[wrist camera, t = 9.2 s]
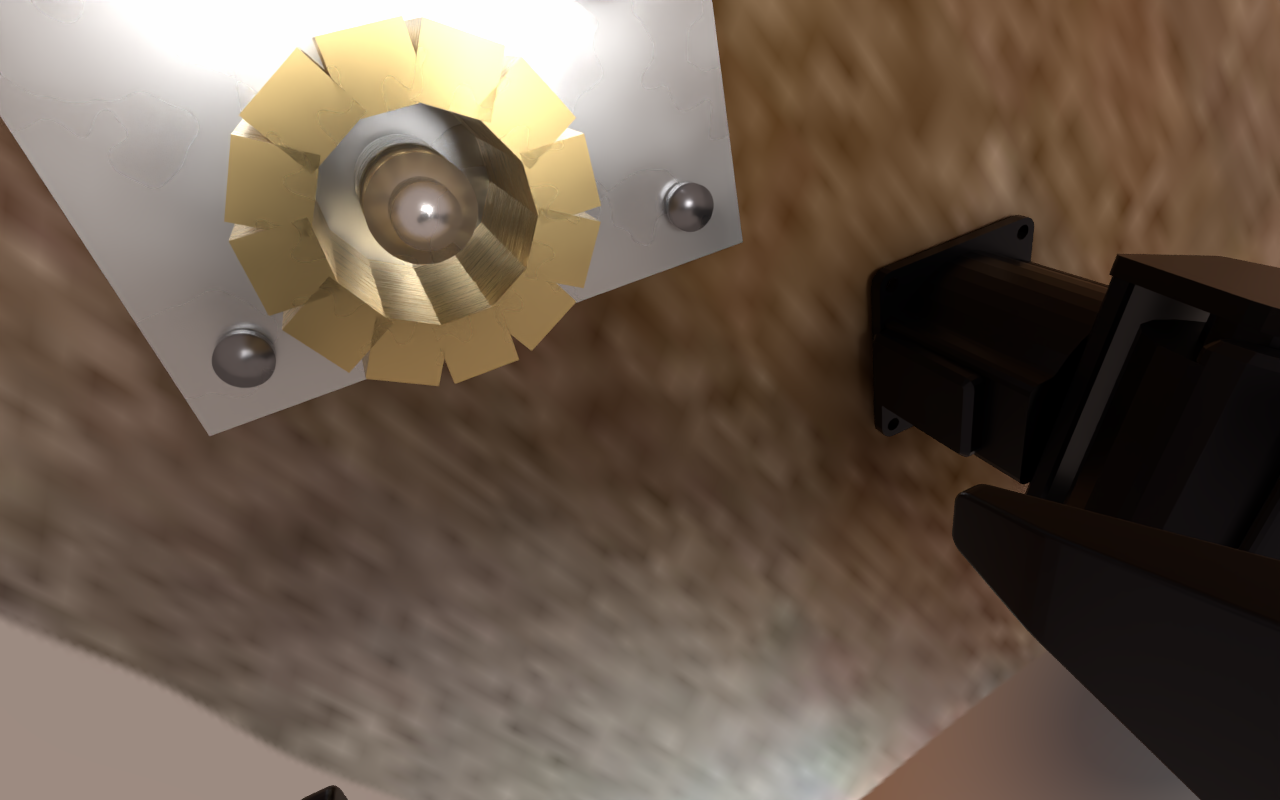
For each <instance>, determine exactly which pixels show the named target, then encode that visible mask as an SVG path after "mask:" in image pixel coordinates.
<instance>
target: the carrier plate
mask: <svg viewBox="0 0 1280 800" xmlns="http://www.w3.org/2000/svg"><path fill="white" fill-rule="evenodd" d="M397 16H403V19H404V20H409V19H414V18H418V17H425V18H428V19H431V20H434V21H437V22H440V23H443V24H446V25H449V26H451V27H454V28H457V29H460V30H463V31H466V32H469V33H472V34H475V35H477V36H480V37H483V38H486V39H489V40H492V41H495V42H498V43H501V44H503V45H506V48H505V53H504V55H509V56H522V57H523V58H524V59H525V60H526V61H527V63H528V64H529V65H530V66H531V67H532V68H533V69H534V70H535V72H536V73H537V74H538V75H539V76H540V77H541V78H542V80H543V81H544V82H545V83H546V84H547V85H548V86H549V88H550V89H551V90H552V91H553V92H554V93H555V94H556V95H557V97H558V98H559V99H560V100H561V101H562V102H563V103H564V105H565V106H566V107H567V108H568V109H569V110H570V111H571V113H572V114H573V115H574V116H575V117H576V118H575V120H574V121H573V122H572V123H571V124H570V125H569V126H568V127H567V128H569V129H572V130H575V131H578V132H581V133H584V135H585V139H586V143H587V148H588V152H589V156H590V160H591V165H592V169H593V173H594V177H595V182H596V186H597V190H598V195H599V199H600V203H601V206H599V207H596V208H593V209H590V210H587V211H584V212H585V213H587V214H589V215H590V216H592V217H594V218H595V219H597V220H599V221H600V222H601V223H600V227H599V231H598V235H597V239H596V243H595V246H594V250H593V254H592V258H591V262H590V266H589V270H588V273H587V277H586V281H585V285H584V288H580V287H574V286H569V285H563V284H558V283H557V284H558V285H559V286H560V287H561V288H563V289H564V290H565V291H566V292H567V293H568V294H569V295H570V296H571V297H572V298H573V299H574V300H575V301H576V303H577V302H580V301H582V300H585V299H588V298H591V297H593V296H596V295H599V294H602V293H604V292H607V291H610V290H613V289H615V288H618V287H621V286H624V285H626V284H629V283H632V282H635V281H637V280H640V279H643V278H645V277H648V276H651V275H654V274H656V273H659V272H662V271H665V270H667V269H670V268H673V267H676V266H678V265H681V264H684V263H687V262H689V261H692V260H695V259H698V258H700V257H703V256H706V255H709V254H711V253H714V252H717V251H720V250H722V249H725V248H728V247H731V246H733V245H736V244H739V243H742V242H743V241H742V233H741V225H740V217H739V210H738V202H737V194H736V186H735V178H734V170H733V162H732V154H731V147H730V139H729V131H728V123H727V115H726V107H725V99H724V91H723V84H722V76H721V68H720V60H719V52H718V44H717V36H716V28H715V21H714V13H713V5H712V0H0V116H1V118H2V119H3V121H4V122H5V124H6V125H7V127H8V128H9V130H10V131H11V133H12V134H13V136H14V138H15V139H16V141H17V142H18V144H19V145H20V147H21V148H22V150H23V151H24V153H25V154H26V156H27V157H28V159H29V161H30V162H31V164H32V165H33V167H34V168H35V170H36V171H37V173H38V174H39V176H40V177H41V179H42V180H43V182H44V183H45V185H46V187H47V188H48V190H49V191H50V193H51V194H52V196H53V197H54V199H55V200H56V202H57V203H58V205H59V206H60V208H61V210H62V211H63V213H64V214H65V216H66V217H67V219H68V220H69V222H70V223H71V225H72V226H73V228H74V229H75V231H76V232H77V234H78V236H79V237H80V239H81V240H82V242H83V243H84V245H85V246H86V248H87V249H88V251H89V252H90V254H91V255H92V257H93V259H94V260H95V262H96V263H97V265H98V266H99V268H100V269H101V271H102V272H103V274H104V275H105V277H106V278H107V280H108V281H109V283H110V285H111V286H112V288H113V289H114V291H115V292H116V294H117V295H118V297H119V298H120V300H121V301H122V303H123V304H124V306H125V308H126V309H127V311H128V312H129V314H130V315H131V317H132V318H133V320H134V321H135V323H136V324H137V326H138V327H139V329H140V330H141V332H142V334H143V335H144V337H145V338H146V340H147V341H148V343H149V344H150V346H151V347H152V349H153V350H154V352H155V353H156V355H157V356H158V358H159V360H160V361H161V363H162V364H163V366H164V367H165V369H166V370H167V372H168V373H169V375H170V376H171V378H172V379H173V381H174V383H175V384H176V386H177V387H178V389H179V390H180V392H181V393H182V395H183V396H184V398H185V399H186V401H187V402H188V404H189V405H190V407H191V409H192V410H193V412H194V413H195V415H196V416H197V418H198V419H199V421H200V422H201V424H202V425H203V427H204V428H205V430H206V432H207V433H208V435H209V436H212V435H215V434H217V433H220V432H223V431H225V430H228V429H231V428H234V427H236V426H239V425H242V424H245V423H247V422H250V421H253V420H256V419H258V418H261V417H264V416H267V415H269V414H272V413H275V412H278V411H280V410H283V409H286V408H289V407H291V406H294V405H297V404H300V403H302V402H305V401H308V400H311V399H313V398H316V397H319V396H322V395H324V394H327V393H330V392H333V391H335V390H338V389H341V388H344V387H346V386H349V385H352V384H355V383H357V382H360V381H363V380H365V379H366V378H365V372H364V367H363V362H362V359H361V360H360V361H359V363H358V364H357V365H356V366H355V367H354V368H353V369H352V370H351V372H350V373H348V372H347V371H345V370H344V369H342V368H340V367H339V366H337V365H336V364H334V363H333V362H331V361H330V360H328V359H326V358H325V357H323V356H322V355H320V354H319V353H317V352H316V351H314V350H312V349H311V348H309V347H308V346H306V345H305V344H303V343H302V342H300V341H298V340H297V339H295V338H294V337H292V336H291V335H289V334H288V333H286V332H284V331H283V330H282V322H283V312H280V313H277V314H274V315H271V316H269V315H268V314H267V312H266V310H265V308H264V306H263V304H262V302H261V301H260V299H259V297H258V295H257V293H256V291H255V289H254V288H253V286H252V284H251V282H250V280H249V278H248V276H247V275H246V273H245V271H244V269H243V267H242V265H241V264H240V262H239V260H238V258H237V256H236V254H235V252H234V251H233V249H232V247H231V245H230V243H229V238H230V236H231V233H232V230H233V228H234V225H235V224H234V223H228V222H224V217H225V204H226V191H227V178H228V165H229V152H230V139H231V133H232V132H233V131H234V129H235V128H236V127H237V125H238V124H239V123H240V122H241V120H242V119H243V118H241V117H240V116H239V114H240V113H241V112H242V110H243V109H244V108H245V107H246V106H247V105H248V103H249V102H250V101H251V100H252V99H253V98H254V96H255V95H256V94H257V93H258V92H259V91H260V89H261V88H262V87H263V86H264V85H265V84H266V82H267V81H268V80H269V79H270V78H271V77H272V75H273V74H274V73H275V72H276V71H277V70H278V68H279V67H280V66H281V65H282V64H283V63H284V61H285V60H286V59H287V58H288V57H289V56H290V54H291V53H292V52H293V51H294V50H295V49H296V47H297V46H299V47H300V48H301V49H302V50H303V51H304V52H306V53H307V54H308V55H309V56H310V57H311V58H312V59H313V60H314V61H315V62H317V63H318V64H319V65H320V66H321V67H322V68H323V69H324V67H323V65H322V62H321V60H320V57H319V55H318V52H317V50H316V47H315V45H314V42H313V40H312V37H314V36H318V35H322V34H327V33H331V32H335V31H339V30H343V29H347V28H352V27H356V26H360V25H364V24H368V23H372V22H377V21H381V20H385V19H389V18H393V17H397ZM324 70H325V69H324ZM489 181H490V180H489V177H488V174H487V171H486V168H485V165H484V161H483V158H482V155H481V152H480V149H479V146H478V142H477V139H476V137H475V136H474V135H473V134H472V133H471V132H470V131H469V130H468V129H467V128H466V127H465V126H464V125H463V124H462V123H461V122H460V121H459V120H458V119H457V118H456V117H455V116H454V115H453V114H452V113H451V112H450V111H447V110H444V109H440V108H437V107H433V106H430V105H427V104H423V103H418V104H414V105H411V106H407V107H403V108H400V109H396V110H392V111H389V112H385V113H381V114H378V115H374V116H370V117H367V118H363V119H360V120H359V121H358V122H357V123H356V125H355V126H354V127H353V128H352V129H351V130H350V131H349V133H348V134H347V135H346V136H345V137H344V138H343V140H342V141H341V142H340V143H339V144H338V145H337V146H336V148H335V149H334V150H333V151H332V152H331V153H330V155H329V156H328V157H327V158H326V159H325V160H324V161H323V163H322V164H321V165H320V166H319V173H318V181H317V189H316V200H317V202H318V204H319V206H320V209H321V211H322V213H323V215H324V218H325V220H326V222H327V224H328V226H329V229H330V230H331V231H332V232H334V233H335V234H336V235H338V236H339V237H340V238H341V239H343V240H344V241H345V242H347V243H348V244H349V245H351V246H352V247H353V248H355V249H356V250H357V251H358V252H360V253H361V254H362V255H364V256H365V257H366V258H368V259H371V260H377V261H382V262H388V263H393V264H399V265H405V266H410V267H414V266H417V265H420V264H435V263H439V262H442V261H445V260H447V259H449V258H451V257H453V256H455V255H456V254H457V253H459V252H460V251H461V250H462V249H463V248H464V247H465V246H466V244H467V243H468V242H469V240H470V239H471V237H472V235H473V233H474V231H475V229H476V228H477V226H478V225H479V224H480V223H481V220H482V215H483V210H484V205H485V200H486V195H487V190H488V186H489Z"/></svg>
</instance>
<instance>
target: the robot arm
mask: <svg viewBox="0 0 1280 800" xmlns="http://www.w3.org/2000/svg"><path fill="white" fill-rule="evenodd" d="M1033 232H1034V222H1033V220H1032V219H1031V218H1029V217H1025V216H1021V215H1015V216H1012V217H1010V218H1007V219H1004V220H1002V221H999V222H997V223H994V224H992V225H989V226H987V227H984V228H982V229H979V230H977V231H974V232H972V233H969V234H967V235H964V236H962V237H959V238H957V239H954V240H952V241H949V242H947V243H944V244H942V245H939V246H937V247H934V248H932V249H929V250H927V251H924V252H922V253H919V254H917V255H914V256H911V257H909V258H906V259H904V260H901V261H899V262H896V263H894V264H891V265H889V266H886V267H884V268H882V269H881V270H879V271H878V272H877V273H876V275H875V276H874V278H873V280H872V286H871V294H872V333H873V373H874V413H875V427H876V429H877V430H878V431H879V432H881V433H882V434H884V435H885V436H893V435H895V434H897V433H899V432H902V431H904V430H906V429H908V428H910V427H912V426H915V427H916V428H918V429H920V430H921V431H923V432H924V433H926V434H928V435H929V436H931V437H932V438H934V439H936V440H937V441H939V442H940V443H942V444H944V445H945V446H947V447H948V448H950V449H951V450H953V451H955V452H956V453H958V454H960V455H962V456H964V457H968V456H970V455H972V454H974V455H976V456H977V457H979V458H980V459H982V460H984V461H985V462H987V463H989V464H990V465H992V466H993V467H995V468H997V469H998V470H1000V471H1002V472H1003V473H1005V474H1006V475H1008V476H1010V477H1011V478H1013V479H1015V480H1016V481H1018V482H1019V483H1021V484H1027V483H1029V482H1030V483H1029V485H1028V488H1027V490H1026V493H1025V494H1022V493H1018V492H1014V491H1010V490H1006V489H1003V488H999V487H995V486H991V485H986V484H979V485H976V486H973V487H971V488H969V489H967V490H965V491H963V492H961V493H959V494H958V495H957V497H956V499H955V506H954V517H953V529H952V536H953V540H954V543H955V545H956V547H957V548H958V550H959V551H960V552H961V554H962V555H963V556H964V557H965V558H966V559H967V561H968V562H969V563H970V564H971V565H972V566H973V568H974V569H975V570H976V571H977V572H978V574H979V575H980V576H981V577H982V578H983V579H984V581H985V582H986V583H987V584H988V585H989V586H990V588H991V589H992V590H993V591H994V592H995V593H996V595H997V596H998V597H999V598H1000V599H1001V601H1002V602H1003V603H1004V604H1005V605H1006V606H1007V608H1008V609H1009V610H1010V611H1011V612H1012V613H1013V615H1014V616H1015V617H1016V618H1017V619H1018V620H1019V621H1020V623H1021V624H1022V625H1023V626H1024V627H1025V628H1026V629H1027V630H1028V631H1029V632H1030V633H1031V635H1032V636H1033V637H1034V638H1035V639H1036V640H1037V641H1038V642H1039V643H1040V644H1041V645H1042V646H1043V647H1044V648H1045V649H1046V650H1047V651H1048V652H1049V653H1051V654H1052V655H1053V656H1054V657H1055V658H1056V659H1057V660H1058V661H1059V662H1060V663H1061V664H1062V665H1063V666H1064V667H1065V668H1066V669H1067V670H1068V671H1069V672H1070V673H1071V674H1072V675H1073V676H1074V677H1075V678H1076V679H1077V680H1078V681H1079V682H1080V683H1081V684H1082V685H1083V686H1084V687H1085V688H1086V689H1087V690H1088V691H1090V693H1092V694H1093V695H1094V696H1095V697H1096V698H1097V699H1098V700H1099V701H1100V702H1101V703H1102V704H1103V705H1104V706H1105V707H1106V708H1107V709H1108V710H1109V711H1110V712H1111V713H1112V714H1113V715H1114V716H1115V717H1116V718H1117V719H1118V720H1119V721H1120V722H1121V723H1122V724H1123V725H1124V726H1125V727H1126V728H1127V729H1128V730H1130V731H1131V733H1133V734H1134V735H1135V736H1136V737H1137V738H1138V739H1139V740H1140V741H1141V742H1142V743H1143V744H1144V745H1145V746H1146V747H1147V748H1148V749H1149V750H1150V751H1151V752H1152V753H1153V754H1154V755H1155V756H1156V757H1157V758H1158V759H1159V760H1160V761H1161V762H1162V763H1163V764H1164V765H1165V766H1166V767H1167V768H1168V769H1169V770H1170V771H1171V772H1172V773H1173V774H1175V775H1176V776H1177V777H1178V778H1179V779H1180V780H1181V781H1182V782H1183V783H1184V784H1185V785H1186V786H1187V787H1188V788H1189V789H1190V790H1191V791H1192V792H1193V793H1194V794H1195V795H1196V796H1197V797H1198V798H1199V799H1200V800H1280V268H1277V267H1272V266H1267V265H1262V264H1257V263H1252V262H1247V261H1242V260H1237V259H1232V258H1227V257H1221V256H1198V255H1150V254H1117V256H1116V259H1115V261H1114V264H1113V266H1112V269H1111V271H1110V275H1112V276H1113V277H1112V279H1111V281H1110V284H1109V285H1106V284H1102V283H1099V282H1096V281H1092V280H1089V279H1086V278H1082V277H1079V276H1076V275H1073V274H1069V273H1066V272H1063V271H1059V270H1056V269H1053V268H1049V267H1046V266H1043V265H1039V264H1036V263H1033V262H1030V261H1031V252H1032V242H1033ZM889 280H890V283H889V285H888V286H887V287H886V285H887V283H888V281H889ZM302 800H348V799H347V798H346V796H345V795H344V793H343V792H342V790H341V789H340V788H338V787H337V786H334V785H332V786H328V787H326V788H324V789H322V790H320V791H318V792H316V793H313V794H311V795H309V796H307V797H305V798H303V799H302Z"/></svg>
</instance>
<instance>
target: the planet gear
mask: <svg viewBox="0 0 1280 800" xmlns="http://www.w3.org/2000/svg"><path fill="white" fill-rule="evenodd" d="M312 40H313V42H314V45H315V47H316V50H317V52H318V55H319V57H320V60H321V62H322V65H323V67H324V69H325V70H324V69H323V68H322V67H321V66H320V65H319V64H318V63H317V62H315V61H314V60H313V59H312V58H311V57H310V56H309V55H308V54H307V53H306V52H304V51H303V50H302V49H301V48H300V47H299V46H297V47H296V49H295V50H294V51H293V52H292V53H291V54H290V56H289V57H288V58H287V59H286V60H285V61H284V63H283V64H282V65H281V66H280V67H279V68H278V70H277V71H276V72H275V73H274V74H273V75H272V77H271V78H270V79H269V80H268V81H267V82H266V84H265V85H264V86H263V87H262V88H261V89H260V91H259V92H258V93H257V94H256V95H255V96H254V98H253V99H252V100H251V101H250V102H249V103H248V105H247V106H246V107H245V108H244V109H243V110H242V112H241V113H240V114H239V116H240V117H241V118H243V119H242V120H241V122H240V123H239V124H238V125H237V127H236V128H235V129H234V131H233V132H232V133H231V139H230V152H229V165H228V178H227V191H226V204H225V217H224V222H228V223H234V224H235V225H234V228H233V230H232V233H231V236H230V238H229V243H230V245H231V247H232V249H233V251H234V252H235V254H236V256H237V258H238V260H239V262H240V264H241V265H242V267H243V269H244V271H245V273H246V275H247V276H248V278H249V280H250V282H251V284H252V286H253V288H254V289H255V291H256V293H257V295H258V297H259V299H260V301H261V302H262V304H263V306H264V308H265V310H266V312H267V314H268V315H269V316H271V315H274V314H277V313H280V312H283V322H282V330H283V331H284V332H286V333H288V334H289V335H291V336H292V337H294V338H295V339H297V340H298V341H300V342H302V343H303V344H305V345H306V346H308V347H309V348H311V349H312V350H314V351H316V352H317V353H319V354H320V355H322V356H323V357H325V358H326V359H328V360H330V361H331V362H333V363H334V364H336V365H337V366H339V367H340V368H342V369H344V370H345V371H347V372H348V373H350V372H351V370H352V369H353V368H354V367H355V366H356V365H357V364H358V363H359V361H360V360H361V359H362V362H363V367H364V372H365V378H366V379H373V380H383V381H393V382H403V383H413V384H423V385H432V386H439V383H440V378H441V373H442V368H443V363H444V361H445V363H446V365H447V367H448V370H449V372H450V374H451V376H452V379H453V381H454V383H455V384H456V383H459V382H462V381H464V380H467V379H470V378H472V377H475V376H477V375H480V374H483V373H485V372H488V371H491V370H493V369H496V368H498V367H501V366H504V365H506V364H509V363H512V362H514V361H517V360H519V358H518V355H517V352H516V349H515V346H514V343H513V340H512V337H511V335H512V336H514V337H515V338H516V339H517V340H519V341H520V342H521V343H522V344H524V345H525V346H526V347H527V348H529V349H530V350H531V351H532V350H533V349H534V348H535V347H536V346H537V345H538V344H539V342H540V341H541V340H542V339H543V338H544V337H545V336H546V335H547V334H548V332H549V331H550V330H551V329H552V328H553V327H554V326H555V325H556V324H557V323H558V321H559V320H560V319H561V318H562V317H563V316H564V315H565V314H566V313H567V311H568V310H569V309H570V308H571V307H572V306H573V305H574V304H575V303H576V301H575V300H574V299H573V298H572V297H571V296H570V295H569V294H568V293H567V292H566V291H565V290H564V289H563V288H561V287H560V286H559V285H558V284H563V285H569V286H574V287H580V288H584V285H585V281H586V277H587V273H588V270H589V266H590V262H591V258H592V254H593V250H594V246H595V243H596V239H597V235H598V231H599V227H600V223H601V222H600V221H599V220H597V219H595V218H594V217H592V216H590V215H589V214H587V213H585V212H584V211H587V210H590V209H593V208H596V207H599V206H601V203H600V199H599V195H598V190H597V186H596V182H595V177H594V173H593V169H592V165H591V160H590V156H589V152H588V148H587V143H586V139H585V135H584V133H581V132H578V131H575V130H572V129H569V128H567V127H568V126H569V125H570V124H571V123H572V122H573V121H574V120H575V118H576V117H575V116H574V115H573V114H572V113H571V111H570V110H569V109H568V108H567V107H566V106H565V105H564V103H563V102H562V101H561V100H560V99H559V98H558V97H557V95H556V94H555V93H554V92H553V91H552V90H551V89H550V88H549V86H548V85H547V84H546V83H545V82H544V81H543V80H542V78H541V77H540V76H539V75H538V74H537V73H536V72H535V70H534V69H533V68H532V67H531V66H530V65H529V64H528V63H527V61H526V60H525V59H524V58H523V57H522V56H509V55H504V53H505V48H506V45H503V44H501V43H498V42H495V41H492V40H489V39H486V38H483V37H480V36H477V35H475V34H472V33H469V32H466V31H463V30H460V29H457V28H454V27H451V26H449V25H446V24H443V23H440V22H437V21H434V20H431V19H428V18H425V17H418V18H414V19H409V20H404V19H403V16H397V17H393V18H389V19H385V20H381V21H377V22H372V23H368V24H364V25H360V26H356V27H352V28H347V29H343V30H339V31H335V32H331V33H327V34H322V35H318V36H314V37H312ZM418 103H423V104H427V105H430V106H433V107H437V108H440V109H444V110H447V111H450V112H451V113H452V114H453V115H454V116H455V117H456V118H457V119H458V120H459V121H460V122H461V123H462V124H463V125H464V126H465V127H466V128H467V129H468V130H469V131H470V132H471V133H472V134H473V135H474V136H475V137H476V139H477V142H478V146H479V149H480V152H481V155H482V158H483V161H484V165H485V168H486V171H487V174H488V177H489V180H490V181H489V186H488V190H487V195H486V200H485V205H484V210H483V215H482V220H481V223H480V224H479V225H478V226H477V228H476V229H475V231H474V233H473V235H472V237H471V239H470V240H469V242H468V243H467V244H466V246H465V247H464V248H463V249H462V250H461V251H460V252H459V253H457V254H456V255H455V256H453V257H451V258H449V259H447V260H445V261H442V262H439V263H435V264H420V265H417V266H414V267H410V266H405V265H399V264H393V263H388V262H382V261H377V260H371V259H368V258H366V257H365V256H364V255H362V254H361V253H360V252H358V251H357V250H356V249H355V248H353V247H352V246H351V245H349V244H348V243H347V242H345V241H344V240H343V239H341V238H340V237H339V236H338V235H336V234H335V233H334V232H332V231H331V230H330V229H329V226H328V224H327V222H326V220H325V218H324V215H323V213H322V211H321V209H320V206H319V204H318V202H317V200H316V189H317V181H318V173H319V166H320V165H321V164H322V163H323V161H324V160H325V159H326V158H327V157H328V156H329V155H330V153H331V152H332V151H333V150H334V149H335V148H336V146H337V145H338V144H339V143H340V142H341V141H342V140H343V138H344V137H345V136H346V135H347V134H348V133H349V131H350V130H351V129H352V128H353V127H354V126H355V125H356V123H357V122H358V121H359V120H360V119H363V118H367V117H370V116H374V115H378V114H381V113H385V112H389V111H392V110H396V109H400V108H403V107H407V106H411V105H414V104H418ZM557 283H558V284H557ZM510 334H511V335H510Z"/></svg>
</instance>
